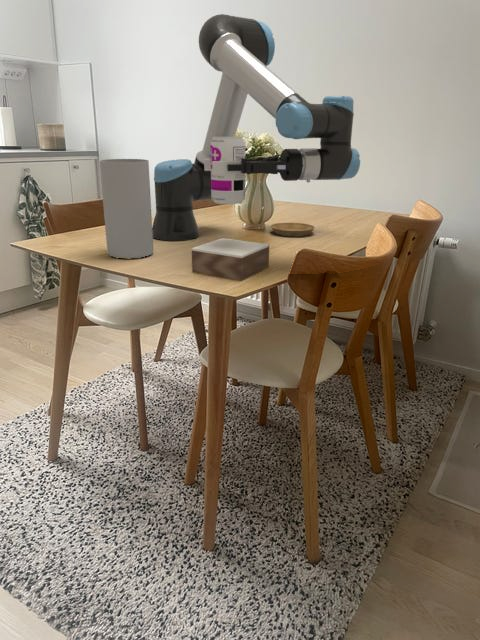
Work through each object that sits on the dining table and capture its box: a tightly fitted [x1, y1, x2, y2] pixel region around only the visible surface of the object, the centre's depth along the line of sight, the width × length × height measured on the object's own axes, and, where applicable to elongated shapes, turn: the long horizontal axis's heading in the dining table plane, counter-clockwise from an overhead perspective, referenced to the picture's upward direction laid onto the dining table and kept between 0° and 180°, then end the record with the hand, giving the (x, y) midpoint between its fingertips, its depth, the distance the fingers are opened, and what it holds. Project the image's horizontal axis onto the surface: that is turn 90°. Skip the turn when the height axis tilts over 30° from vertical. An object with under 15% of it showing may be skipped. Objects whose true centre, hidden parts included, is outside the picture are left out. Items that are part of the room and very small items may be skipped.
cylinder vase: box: [99, 158, 154, 259], centre depth 136 cm, size 12×12×25 cm
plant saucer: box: [270, 222, 315, 238], centre depth 170 cm, size 15×15×3 cm
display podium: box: [191, 237, 270, 282], centre depth 126 cm, size 14×14×6 cm
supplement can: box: [210, 136, 246, 205], centre depth 121 cm, size 8×8×15 cm
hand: (208, 166), depth 119 cm, fingers closed on supplement can, 8 cm apart
